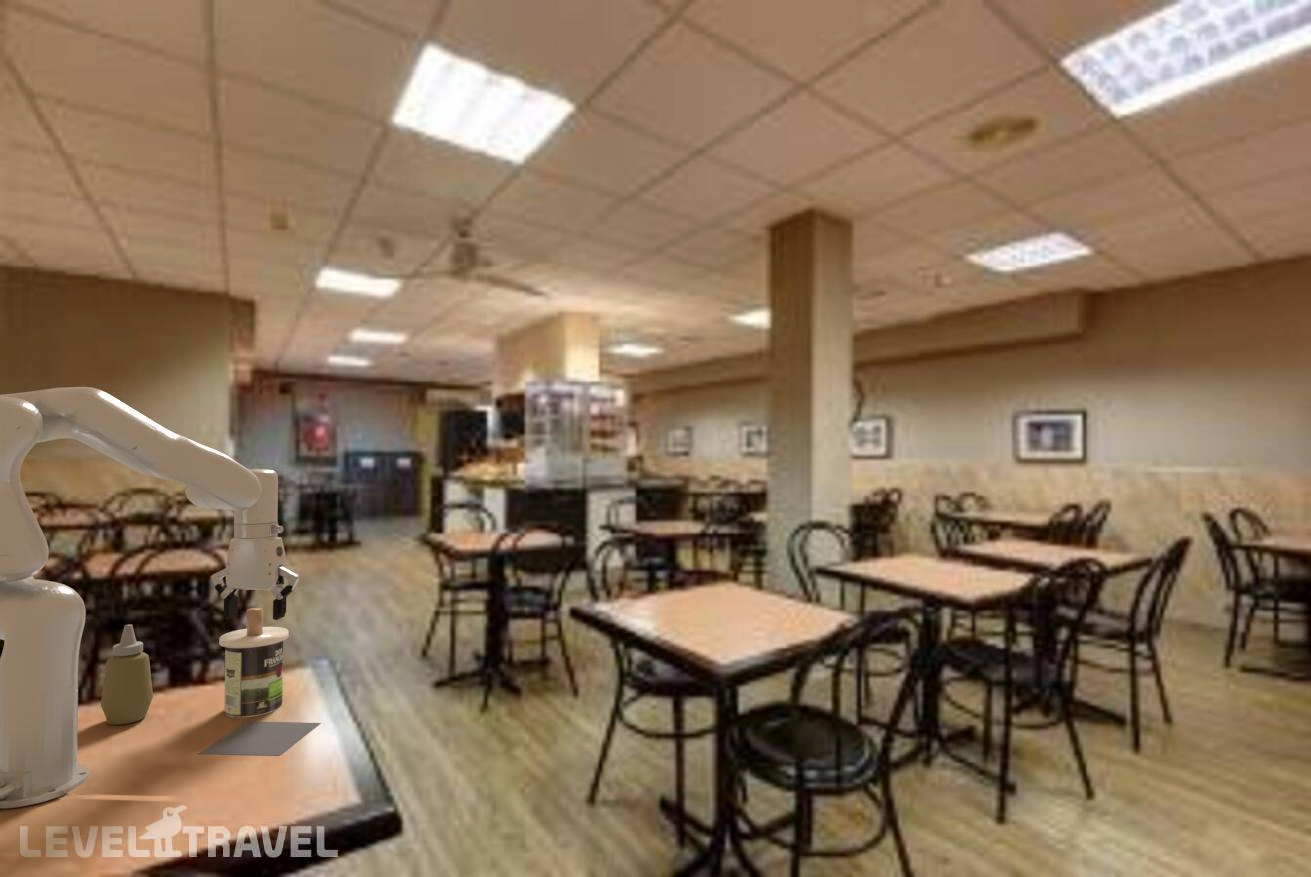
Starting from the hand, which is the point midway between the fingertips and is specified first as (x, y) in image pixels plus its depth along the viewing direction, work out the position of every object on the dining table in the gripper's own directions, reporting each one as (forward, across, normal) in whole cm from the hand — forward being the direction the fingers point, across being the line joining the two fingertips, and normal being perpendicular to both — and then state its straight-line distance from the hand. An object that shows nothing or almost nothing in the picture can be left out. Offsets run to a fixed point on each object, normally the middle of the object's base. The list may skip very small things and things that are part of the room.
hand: (254, 617), depth 143 cm
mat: (+18, -10, +14) cm, 25 cm away
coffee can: (+19, 0, 0) cm, 19 cm away
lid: (+4, 0, 0) cm, 4 cm away
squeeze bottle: (+18, +21, +6) cm, 29 cm away
